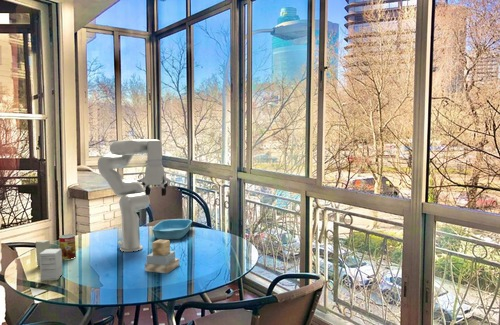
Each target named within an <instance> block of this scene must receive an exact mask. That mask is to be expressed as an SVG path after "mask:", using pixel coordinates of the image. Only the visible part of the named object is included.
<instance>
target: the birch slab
mask: <svg viewBox="0 0 500 325" xmlns="http://www.w3.org/2000/svg"><path fill="white" fill-rule="evenodd" d="M179 266H180V258H176V257H175V260H173V261H172V262H170V263H169V264H167V265H154V264H147V262H146V263H145V264H144V271H145V272H152V273H160V274H162V273H163V274H168V273H170V272H171V271H173V270H175V269H176V268H178V267H179Z"/></svg>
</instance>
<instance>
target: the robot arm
mask: <svg viewBox="0 0 500 325" xmlns="http://www.w3.org/2000/svg"><path fill="white" fill-rule="evenodd" d="M162 146H163V144H162V141H161V140H160V139H148V138H146V139H126V140H125V139H124V140H116V141H113V142H112V143H110V146H109V152H110V153H111V154H106V155H102V156H101V157H99V158H98V160H97V168H98V169H97V170H98V171H99V173H100V176H102V178H103V179H104V180H105V181H106V182H107V183H108V185H109V187H110V188H111V190H112V191H113V193H114V195H115V196H117V197H118V198H119V201H118V203H119V208H120V215H121V234H122V235H121V236H122V237H121V238H122V240H118V241H117V246H120V247H119V251H120V250H121V251H120V252H123V251H124V252H123V253H131V252H132V253H134V252H137V251H138V250H139V251H141V250H143V248H144V246H143V245H142V244H141V238H140V216H139V215H138V214H137V212H136V211H139V210H143V209H144V210H145V209H147V208H148V207H149V206H150V204H151V200H150V196H149V195H151V188H150V186H152V185H153V186H159V185H160V186H161V191H160V192H161V196H162V197H163V196H166V194H167V187H168V186H169V185H170V182H171V179H169V178H168V177H166V174H165V168H164V166H163V150H162V149H163V148H162ZM137 154H138V155H139V154H140V155H141V154H146V155H147V156H146V158H147V160H146V161H145V164H146V166H145V171H144V177H143V178H141V179H140V181H141V182H140V181H138V180H137V179H124V177H123V176H122V174H121V173H119V172H118V171H117V169H124V168H127V167H128V165H129V164H130V162H131V160H132V159H133V157H134V155H137ZM115 169H116V170H115ZM133 251H134V252H133Z"/></svg>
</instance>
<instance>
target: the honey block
mask: <svg viewBox="0 0 500 325" xmlns="http://www.w3.org/2000/svg"><path fill="white" fill-rule="evenodd" d="M170 240H171V239H157V240H154V241H153V242H152V244H151V245H152V252H153V255H161V256H164V255H166V254H168V253H170V251H171V242H170Z"/></svg>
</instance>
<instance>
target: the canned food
mask: <svg viewBox="0 0 500 325" xmlns="http://www.w3.org/2000/svg"><path fill="white" fill-rule="evenodd" d="M58 240H59V241H58V242H59V243H58V245H59V248H58V249H61V250H62V259H71V258H74V257H76V258H77V253H76V252H77V247H76V234H74V233H73V234H71V233H69V234H67V233H66V234H63V235H60V236H58ZM74 259H75V258H74ZM71 260H72V259H71Z"/></svg>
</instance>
